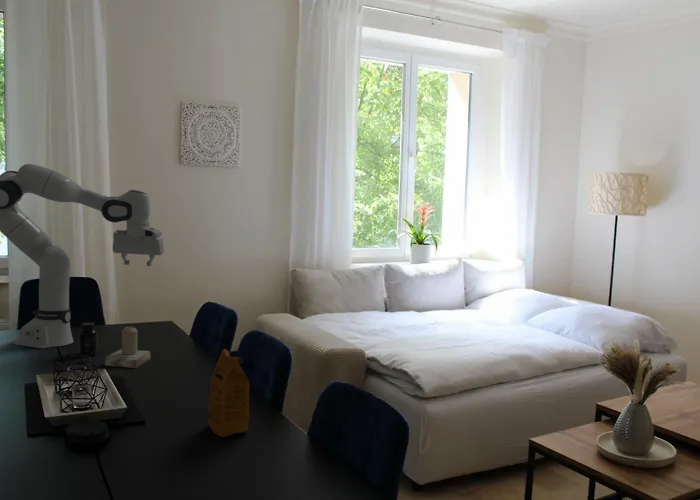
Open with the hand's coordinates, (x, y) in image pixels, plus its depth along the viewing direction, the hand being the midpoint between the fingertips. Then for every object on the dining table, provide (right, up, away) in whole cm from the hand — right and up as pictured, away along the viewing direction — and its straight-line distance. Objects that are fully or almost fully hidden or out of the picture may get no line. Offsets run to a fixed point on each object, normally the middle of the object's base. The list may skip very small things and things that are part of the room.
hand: (137, 265), depth 263 cm
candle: (+3, -33, -20) cm, 38 cm away
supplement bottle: (-15, -34, -12) cm, 39 cm away
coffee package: (+51, -45, -79) cm, 104 cm away
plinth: (+3, -36, -20) cm, 41 cm away
